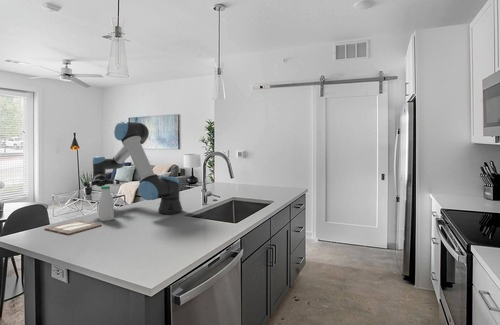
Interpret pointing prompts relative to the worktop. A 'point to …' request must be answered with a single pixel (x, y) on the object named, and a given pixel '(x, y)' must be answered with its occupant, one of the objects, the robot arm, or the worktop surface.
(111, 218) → the milk bottle
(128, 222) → the worktop surface
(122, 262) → the worktop surface
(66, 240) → the worktop surface
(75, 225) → the writing board
